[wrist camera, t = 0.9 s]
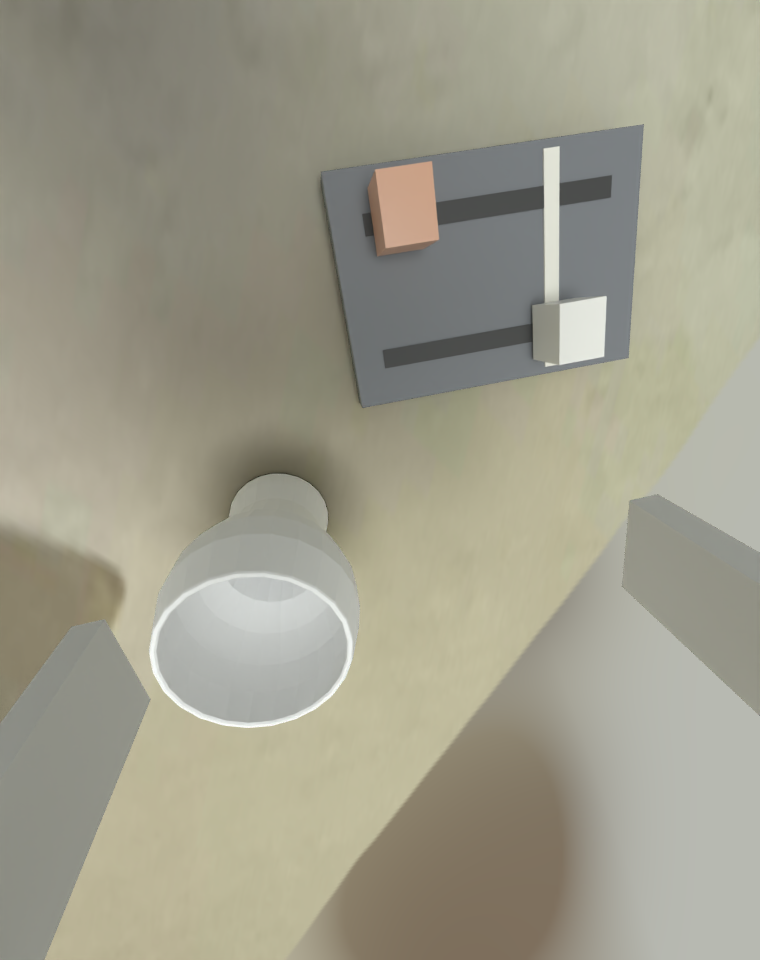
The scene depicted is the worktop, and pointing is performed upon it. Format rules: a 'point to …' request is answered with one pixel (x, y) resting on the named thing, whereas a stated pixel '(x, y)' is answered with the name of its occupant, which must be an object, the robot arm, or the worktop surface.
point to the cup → (258, 611)
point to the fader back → (569, 330)
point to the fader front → (403, 208)
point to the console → (487, 261)
